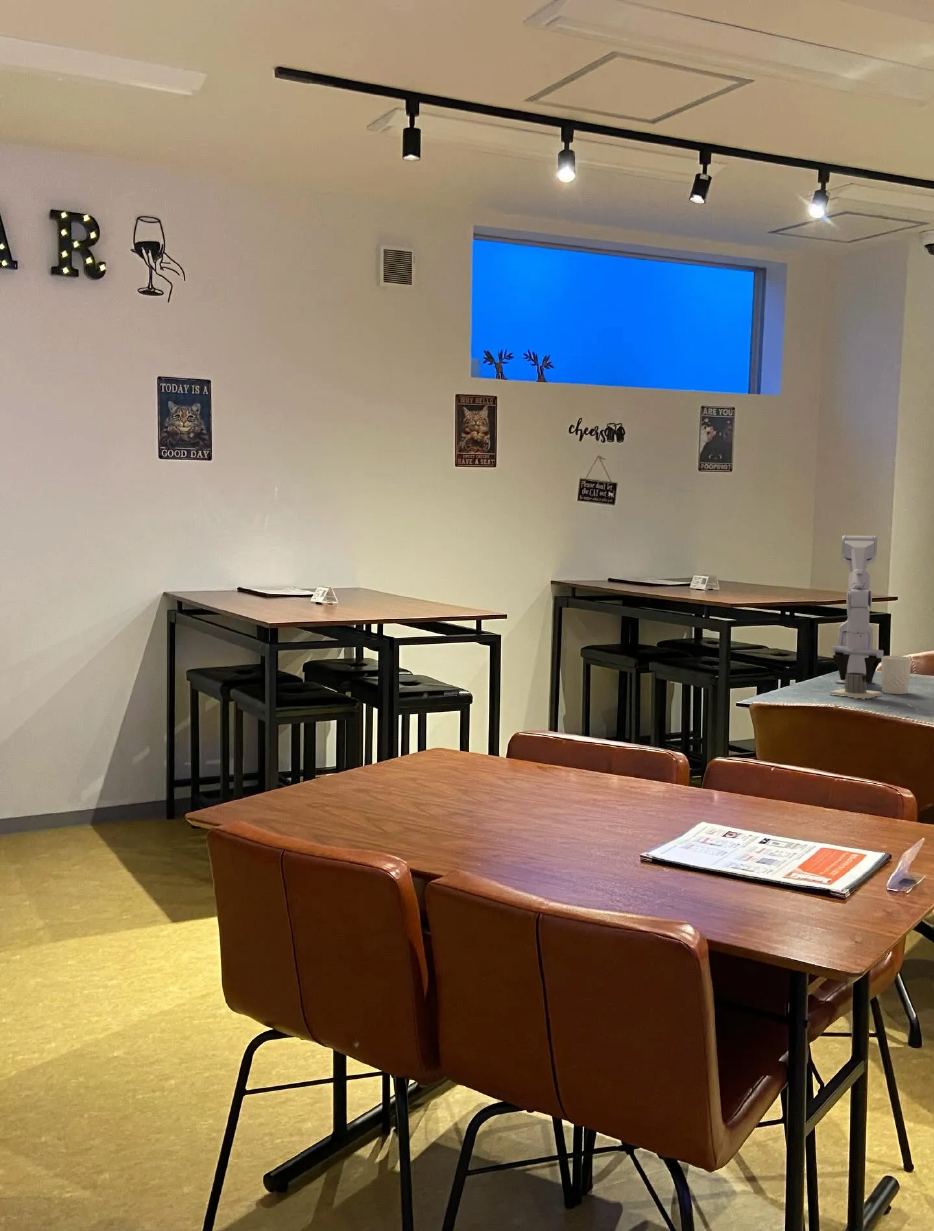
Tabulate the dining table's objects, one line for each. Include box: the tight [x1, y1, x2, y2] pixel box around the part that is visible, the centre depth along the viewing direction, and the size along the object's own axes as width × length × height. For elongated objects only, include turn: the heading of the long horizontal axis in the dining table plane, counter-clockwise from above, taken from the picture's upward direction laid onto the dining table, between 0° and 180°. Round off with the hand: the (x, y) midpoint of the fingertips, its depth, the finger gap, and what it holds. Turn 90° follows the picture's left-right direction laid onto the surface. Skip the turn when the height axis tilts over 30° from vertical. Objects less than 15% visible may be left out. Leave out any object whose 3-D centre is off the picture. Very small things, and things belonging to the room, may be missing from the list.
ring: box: [844, 672, 868, 693], centre depth 332 cm, size 6×6×5 cm
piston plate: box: [829, 688, 882, 700], centre depth 332 cm, size 10×10×4 cm
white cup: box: [881, 655, 912, 695], centre depth 337 cm, size 8×8×10 cm
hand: (856, 681), depth 332 cm, fingers open, 7 cm apart
